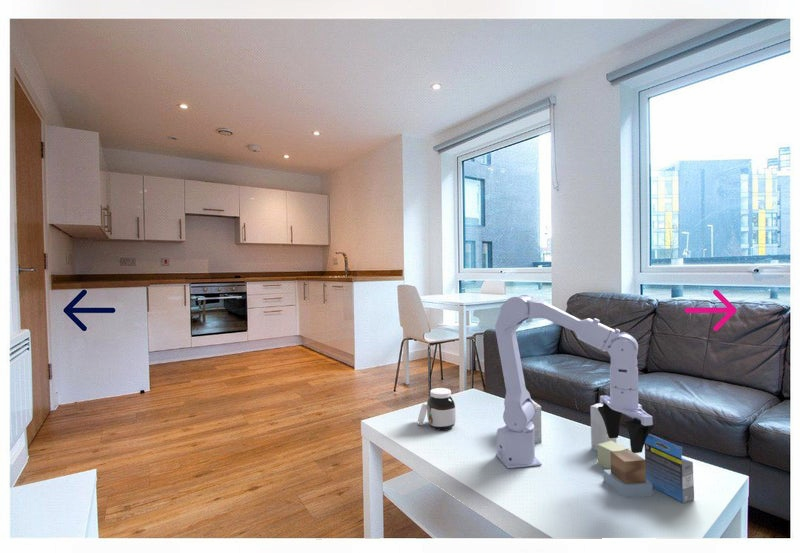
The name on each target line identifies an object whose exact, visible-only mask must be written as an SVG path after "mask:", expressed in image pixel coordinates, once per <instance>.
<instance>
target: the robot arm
mask: <svg viewBox="0 0 800 553" xmlns="http://www.w3.org/2000/svg"><path fill="white" fill-rule="evenodd" d="M528 319H529V320H530V319H535V320H536V319H545V320H548V321H550V322H552V323H554V324H556V325H559V326H561V327H563V328H566V329H568V330H571V331H573V332H574V333H575V336H576V337H577V340H580V341H582V342H583V343H585V344H588V345H589V346H591V347H594V348H596V349H598V350H600V351H602V352H607V353H608V355H609V356H610V365H609V395H600V396H599V403H600V404H603V406H602V407H598V411H599V412H600V414H601V416H602V418H603V420H604V423H605V426H606V430H607V434H608V437H609V438H616V439H618V438H619V434H620V423H621V417H622V414H623V415H625V416H627V417H628V418H629V417H630V418H631V420H625V421H624V424H625V426H626V429H627V431H628V434H629V435H628V436H629V444H630V445H629V446H630V450H631V451H632V452H633V453H635V454H638V453H639V454H640V453H643V449H644V448H645V445H644V443H645V440H646V438H647V436H648V434H651V431H652V430H653V429H654V427H655V424H654V422H653V416H652V415H650V414H649V413H647V412H646V411H645V410H644V409H643V405H642V404H640V403H639V368H638V364H639V363H638V359H637V357H638V354H639V351H638V350H639V344H638V341H637V340H636V338H634V336H633V335H631V334H630V333H628V332H621V330H620V329H619V328H615V329H614V328H611V327H609V326H607V325H605V324H603V323H601V320H600V319H598V318H596V317H595V318H593V319H592V318H589V317H587V318H584V319H581V318H578V317H576V316H574V315H572V314H569V313H568V312H566V311H564V310H562V309H560V308H558V307H557V306H554V305H553V304H550V303H548V302H546V301H544V300H541V299H540V298H536V297H534V298H533V297H532V296H531V295H528V294H522V295H518V296H513V297H509V298H508V299H507V300H506V301H505V302H504V303H503V304H502V305H501V306H500V312H499V315H498V317H497V320H496V323H495V325H494V327H495V328H494V329H495V330H494V331H495V337H496V340H497V347H498V353H499V360H500V364H501V369H502V375H503V381H504V387H505V397H504V401H503V403H504V411H503V415H502V418H503V422H504V424H505V426H503V427H499V428H497V430H496V453H495V455H496V456H497V458H498V459H499V460H500V461H501V463H502V464H503V465H504V466H505V467H506V468H507V469H514V468H515V469H516V468H526V467H534V466H535V467H536V466H541V465H542V462H541V461H540V459H538V458H537V457H536V454H535V453H536V449H535V447H536V446H535V444H536V443H535V441H534V424H533V422H532V419H533V418H534V417H535V415H536V407H535V405H534V403H533V402H532V400H533V399H532V398H531V394H530V392H529V391H528V389H527V388H526V382H525V376H524V371H523V370H524V369H523V366H522V365H523V364H522V359H521V355H520V349H519V343H518V338H517V330H518V329H519V328H520V326H521V325H523V323H524V322H525V321H526V320H528ZM531 399H532V400H531Z"/></svg>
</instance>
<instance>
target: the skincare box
mask: <svg viewBox="0 0 800 553" xmlns="http://www.w3.org/2000/svg"><path fill="white" fill-rule="evenodd" d="M602 406H603V404H600V402H599V403H595V404H593V405H590V441H591V442H590V444H591V446H590V447H591V449H593V450H595V451H597V452H598V444H600V443H604V442H608V441H613V442H615V443H617V438H609V437H608V434H607V430H606V426H605V423H604V420H603V418H602V416H601V414H600V412H599V411H598V407H602Z"/></svg>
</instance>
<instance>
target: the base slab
mask: <svg viewBox="0 0 800 553" xmlns="http://www.w3.org/2000/svg"><path fill="white" fill-rule="evenodd" d="M602 472H603V482H604V483H605V484H607V485H608V486H609V487H610V488H611V489H612V490H614V492H616V493H617V494H618V495H619V496H621V497H622V498H624V499H625V498H635V497H648V496H653V487H652V483H651V482H649V481H648V480H647V479H646V482H643V483H630V484H625V483H623V482H622V481H621V480H620V479H618V478H617V477H616V476H615V475H613V474H612V473H611V469H603V471H602Z"/></svg>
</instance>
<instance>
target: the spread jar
mask: <svg viewBox="0 0 800 553" xmlns="http://www.w3.org/2000/svg"><path fill="white" fill-rule="evenodd" d="M426 402H427V403H422V405H421V407H420V411H419V414H418V418H417V423H418V422H419V423H418V424H417V425H418V426H421V425H422V426H423V425H424V422H425V418H426V415H427V422H428V424H429V426H430V427H431V428H432V427H433V428H435V429H434V430H436V429H440V430H439V431H446V430H445V429H447V430H450V429H451V428H453V427H454V426H455V424H456V422H457V421H456V420H457V417H456V416H457V415H456V412H457V411H456V404H455V401H454V399H453V397H452V391H451V389H450V388H447V387H445V388H444V387H436V388H432V389H430V396H429V397H428V399H427V401H426ZM433 428H432V429H433Z"/></svg>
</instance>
